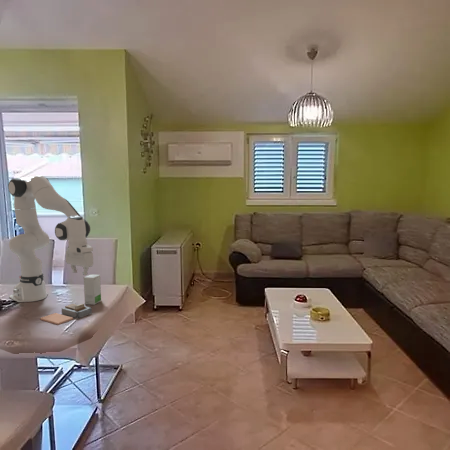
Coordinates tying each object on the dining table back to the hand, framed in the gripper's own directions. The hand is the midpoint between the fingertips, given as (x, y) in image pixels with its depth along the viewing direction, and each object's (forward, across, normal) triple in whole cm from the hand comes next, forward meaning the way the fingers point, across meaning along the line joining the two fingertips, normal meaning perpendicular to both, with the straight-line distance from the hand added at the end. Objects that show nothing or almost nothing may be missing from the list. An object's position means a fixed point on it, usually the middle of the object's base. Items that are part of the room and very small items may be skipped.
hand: (80, 273), depth 214 cm
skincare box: (+22, -14, +15) cm, 30 cm away
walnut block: (+22, -5, -1) cm, 22 cm away
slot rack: (+22, -5, -1) cm, 22 cm away
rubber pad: (+22, -4, -12) cm, 25 cm away
